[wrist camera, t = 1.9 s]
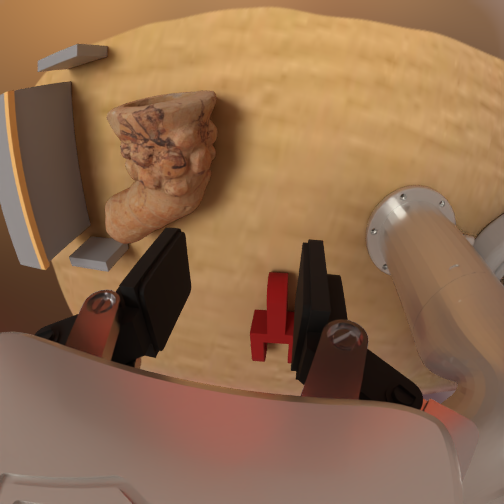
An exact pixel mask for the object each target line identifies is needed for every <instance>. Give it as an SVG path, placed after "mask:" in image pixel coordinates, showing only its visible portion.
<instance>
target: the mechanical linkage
mask: <svg viewBox="0 0 504 504" xmlns="http://www.w3.org/2000/svg"><path fill="white" fill-rule="evenodd" d="M287 299H288V273H276V272H269V276H268V285H267V310H255V311H254V316H253V321H252V326H251V330H250V340H251V353H252V360H253V361H263V362H265V358H266V351H267V343H281V344H289V350H288V363H291V361H292V346H293V330H294V312H290V311H287Z"/></svg>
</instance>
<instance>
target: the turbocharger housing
mask: <svg viewBox="0 0 504 504" xmlns="http://www.w3.org/2000/svg"><path fill="white" fill-rule="evenodd" d="M473 247H474V249H475V250H476V251H477V252H478V253H479V255H480V256H481V257H482V258H483V260H484V261H485V262H486V264H487V265H488V266H489V267H490V269H491V270H492V271H493V273H494V274H495V275H496V277H497V278H498V279H499V280H501V278H502V277H503V276H504V214H502V215H501V216H500V217H498V218H497V219H496V220H494V221H493V222H492V223H490V224H489V225H488V226H487V227H486V228H485V229H484V230H483V231H482V232H481V233H480V234H479V235H478V236H477V238H476V239H475V240H474V245H473ZM503 286H504V285H503Z"/></svg>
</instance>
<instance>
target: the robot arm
mask: <svg viewBox="0 0 504 504" xmlns="http://www.w3.org/2000/svg"><path fill="white" fill-rule="evenodd" d="M402 194H403V196H401V195H402ZM373 228H374V229H373ZM372 229H373V230H372ZM473 245H474V237H473V236H470V235H464V234H463V233H462V232H461V231H460V230H459V229H458V228H457V227H456V221H455V215H454V212H453V210H452V207H451V205H450V204H449V202H448V201H447V200H446V199H445V198H444V197H443V196H442V195H441V194H440V193H438V192H437V191H436V190H434V189H431V188H429V187H426V186H420V185H413V186H407V187H402V188H400V189H398V190H395V191H393V192H392V193H390V194H389V195H387V196H386V197H385V198H384V199H383V200H382V201H381V202H380V203H379V204H378V205H377V206H376V208H375V209H374V211H373V212H372V214H371V216H370V219H369V221H368V224H367V228H366V246H367V249H368V253H369V255H370V257H371V259H372V261H373V263H374V264H375V265H376V266H377V267H378V268H379V269H380V270H381V271H382V272H384V273H386V274H388V275H391V277H392V279H393V282H394V285H395V287H396V290H397V292H398V295H399V298H400V301H401V303H402V306H403V309H404V312H405V315H406V318H407V320H408V323H409V326H410V330H411V333H412V336H413V339H414V342H415V345H416V348H417V351H418V354H419V356H420V358H421V360H422V362H423V363H424V364H425V366H426V367H427V368H428V369H429V370H430V371H432V372H433V373H434V374H436V375H438V376H440V377H443V378H445V379H448V380H451V381H455V382H457V384H458V387H457V389H456V391H455V393H454V394H453V395H452V396H450V397H449V398H448V399H447V400H445V401H444V402H443V403H441V404H440V403H438V402H436V401H434V400H432V399H429V400H428V401H427V400H425V399H423V396H422V393H421V391H420V389H419V387H417V386H416V385H415V384H414V383H413V382H412V381H410V380H409V379H408V378H406V377H405V376H404V375H402V374H401V373H400V372H398V371H397V370H395V369H394V368H393V367H391V366H390V365H389V364H387V363H386V362H385V361H383V360H382V359H381V358H379V357H378V356H377V355H375V354H374V353H372V352H371V351H370V350H368V349H367V347H368V335H367V333H366V331H365V330H364V329H363V328H362V327H361V326H360V325H358V324H357V323H355V322H352V321H350V320H348V319H347V312H346V305H345V299H344V293H343V286H342V281H341V276H340V275H331V274H327V270H326V262H325V253H324V246H323V241H321V240H310V239H309V240H308V243H303V245H302V253H301V261H300V269H299V276H298V284H297V291H296V298H295V312H294V330H293V346H292V361H291V371H296V380H299V381H300V382H301V383H302V384H303V385H304V388H303V390H302V393H301V396H291V395H281V394H271V393H262V392H254V391H247V390H240V389H233V388H227V387H221V386H215V385H209V384H204V383H198V382H193V381H188V380H184V379H179V378H174V377H170V376H166V375H161V374H157V373H153V372H149V371H145V370H141V369H140V366H141V357H142V356H150V357H154V358H156V356H157V354H158V352H159V351H162V350H163V349H164V347H165V345H166V343H167V341H168V338H169V336H170V334H171V332H172V330H173V328H174V326H175V323H176V321H177V319H178V317H179V315H180V313H181V311H182V309H183V307H184V305H185V303H186V301H187V298H188V296H189V294H190V292H191V279H190V272H189V263H188V255H187V246H186V237H185V233H184V232H181V229H179V228H165V230H164V231H163V232H162V233H161V234H160V235H159V237H158V238H157V239H156V240H155V241H154V243H153V244H152V245H151V246H150V247H149V249H148V250H147V251H146V252H145V254H144V255H143V256H142V257H141V259H140V260H139V261H138V262H137V263H136V265H135V266H134V267H133V269H132V270H131V271H130V272H129V274H128V275H127V276H126V277H125V279H124V280H123V281H122V283H121V284H120V285H119V286H120V287H119V288H118V289H117V291H116V292H114V291H112V290H101V291H98V292H95V293H93V294H91V295H90V296H89V297H88V298H87V299H86V300H85V302H84V303H83V305H82V308H81V310H80V312H79V314H77V315H74V316H72V317H69V318H67V319H64V320H61V321H59V322H56V323H53V324H50V325H48V326H45V327H43V328H41V329H40V330H39V331H37V333H36V334H35V335H30V334H26V333H19V332H3V333H0V504H504V286H503V285H502V283H501V282H500V280H499V279H498V278H497V277H496V275H495V274H494V273H493V271H492V270H491V269H490V267H489V266H488V265H487V264H486V262H485V261H484V260H483V258H482V257H481V256H480V255H479V253H478V252H477V251H476V250H475V249H474V247H473Z"/></svg>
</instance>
